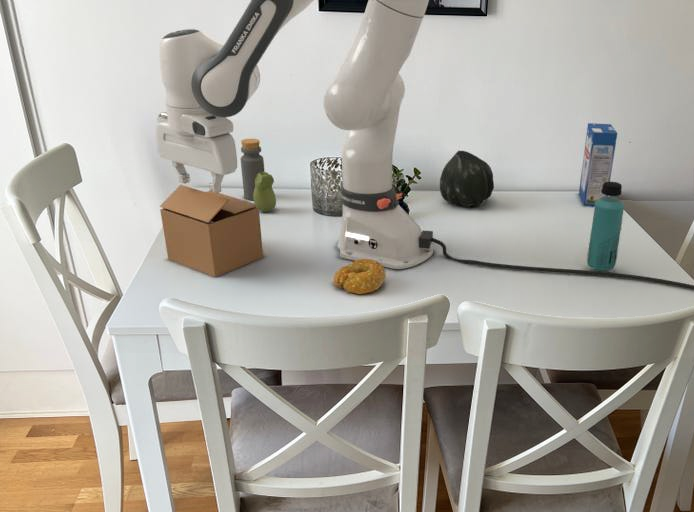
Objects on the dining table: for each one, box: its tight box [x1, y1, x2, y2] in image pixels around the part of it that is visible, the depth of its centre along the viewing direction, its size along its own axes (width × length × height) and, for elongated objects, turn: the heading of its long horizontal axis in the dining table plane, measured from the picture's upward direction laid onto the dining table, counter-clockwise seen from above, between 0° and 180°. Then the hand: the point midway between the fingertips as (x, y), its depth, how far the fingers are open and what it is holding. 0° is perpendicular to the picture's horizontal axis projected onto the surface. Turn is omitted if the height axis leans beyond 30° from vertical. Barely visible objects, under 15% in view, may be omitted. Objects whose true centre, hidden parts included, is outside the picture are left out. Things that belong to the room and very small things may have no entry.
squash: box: [439, 150, 495, 208], centre depth 200 cm, size 14×15×15 cm
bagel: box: [332, 259, 387, 295], centre depth 154 cm, size 10×11×5 cm
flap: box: [159, 184, 229, 223], centre depth 155 cm, size 15×7×1 cm, turn 56°
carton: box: [159, 190, 264, 278], centre depth 161 cm, size 15×14×12 cm
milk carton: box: [578, 122, 618, 208], centre depth 204 cm, size 10×6×20 cm, turn 179°
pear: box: [253, 171, 277, 213], centre depth 189 cm, size 6×5×10 cm
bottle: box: [240, 138, 266, 201], centre depth 196 cm, size 6×6×15 cm
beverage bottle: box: [586, 181, 625, 271], centre depth 162 cm, size 6×7×20 cm
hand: (200, 187), depth 155 cm, fingers open, 8 cm apart
